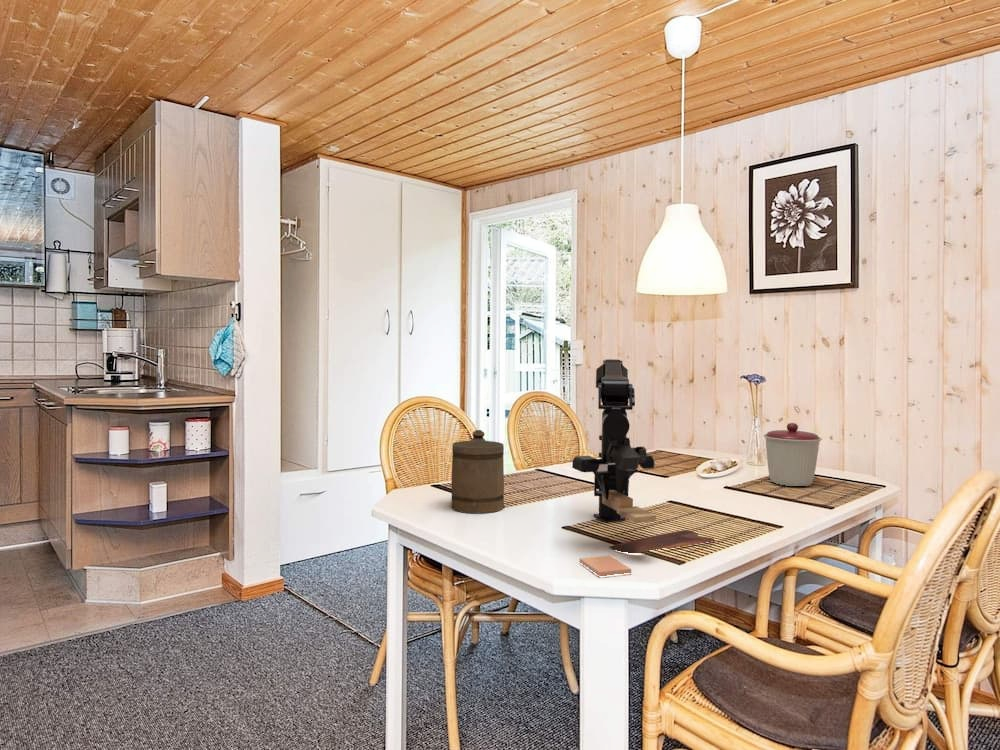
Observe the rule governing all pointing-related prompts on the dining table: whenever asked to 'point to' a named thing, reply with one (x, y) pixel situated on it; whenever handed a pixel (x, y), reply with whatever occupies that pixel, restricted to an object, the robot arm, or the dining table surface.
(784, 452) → the canister
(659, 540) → the wooden tablet
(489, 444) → the wooden container
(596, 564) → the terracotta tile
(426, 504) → the dining table surface
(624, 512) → the tan paddle
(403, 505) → the dining table surface
